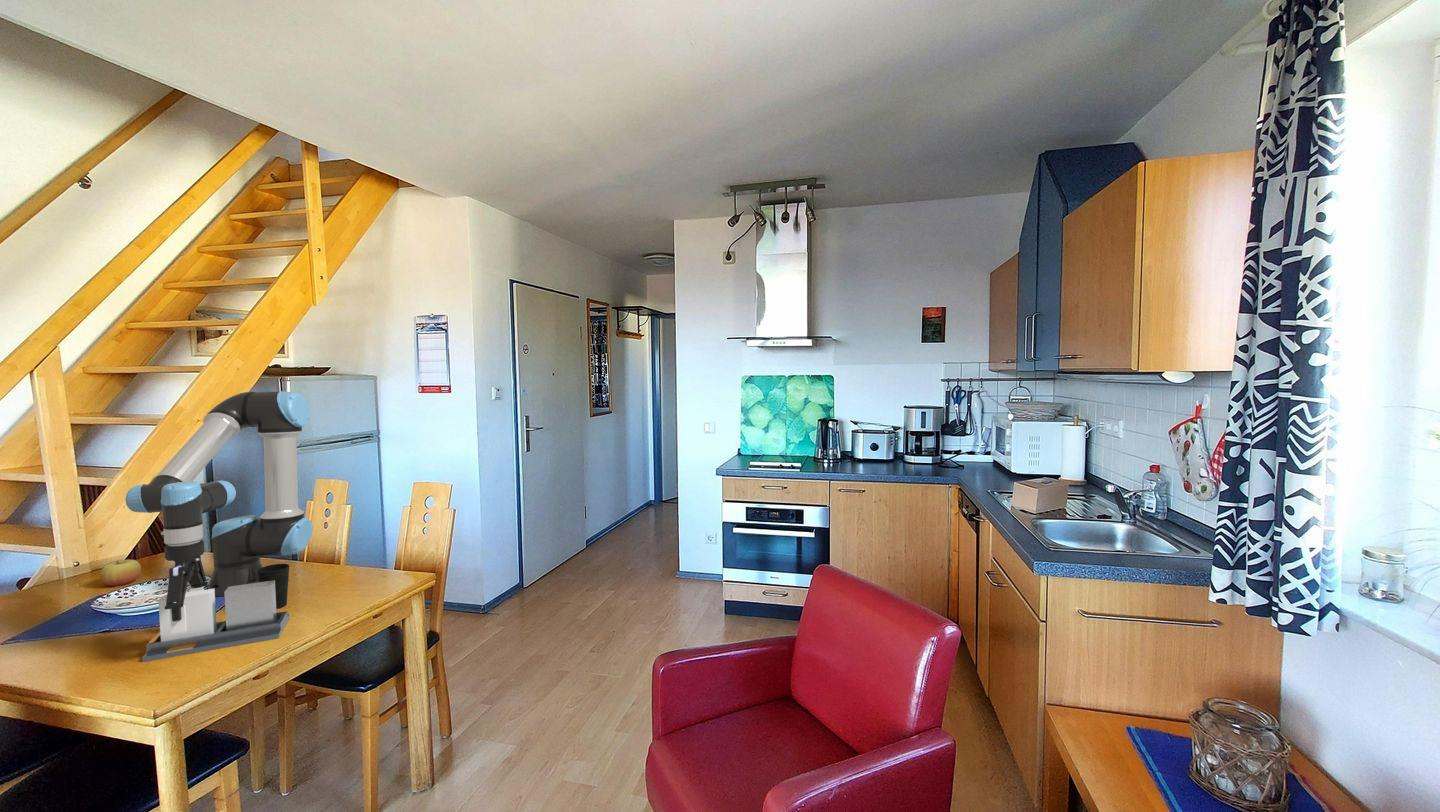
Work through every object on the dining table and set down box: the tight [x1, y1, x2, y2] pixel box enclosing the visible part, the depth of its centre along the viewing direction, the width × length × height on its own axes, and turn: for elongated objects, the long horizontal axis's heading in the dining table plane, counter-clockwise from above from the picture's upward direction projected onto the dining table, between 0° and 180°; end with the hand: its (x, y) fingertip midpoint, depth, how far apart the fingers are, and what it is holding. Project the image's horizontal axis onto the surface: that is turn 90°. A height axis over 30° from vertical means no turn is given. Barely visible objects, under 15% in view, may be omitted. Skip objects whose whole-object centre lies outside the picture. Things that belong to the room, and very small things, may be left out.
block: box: [158, 588, 217, 642], centre depth 149 cm, size 4×10×12 cm, turn 118°
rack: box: [141, 580, 290, 663], centre depth 152 cm, size 14×27×13 cm, turn 118°
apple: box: [99, 559, 142, 587], centre depth 191 cm, size 10×10×8 cm
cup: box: [257, 563, 290, 610], centre depth 173 cm, size 8×8×12 cm
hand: (188, 621), depth 149 cm, fingers open, 13 cm apart
